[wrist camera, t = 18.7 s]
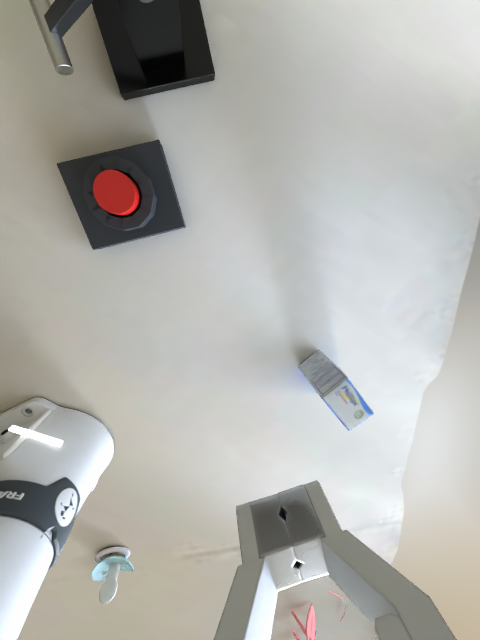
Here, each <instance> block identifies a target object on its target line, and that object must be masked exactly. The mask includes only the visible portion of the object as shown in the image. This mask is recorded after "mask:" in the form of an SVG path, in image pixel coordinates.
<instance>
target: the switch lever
mask: <svg viewBox="0 0 480 640" xmlns="http://www.w3.org/2000/svg"><path fill="white" fill-rule="evenodd" d="M93 1H94V0H55V1H54V3H53V4H52V5H51V6H50V3H49V0H29V2H30V4H31V7H32V9H33V12H34V15H35V17H36V20H37V22H38V25H39V28H40V30H41V33H42V36H43V38H44V41H45V43H46V46H47V49H48V51H49V54H50V56H51V59H52V62H53V64H54V67H55V70H56V71H57V72H58V73H59V74H61V75H70V74H72V73H73V72H74V69H73V67H72V64H71V61H70V58H69V56H68V53H67V50H66V47H65V45H64V42H63V39H62V37H63V36H64V34H65V33H66V32H67V31H68V30H69V29H70V27H71V26H72V25H73V24H74V23H75V22H76V21H77V19H78V18H79V17H80V16H81V15H82V14H83V13H84V11H85V10H86V9H87V8H88V7H89V6H90V4H91V3H92V2H93Z"/></svg>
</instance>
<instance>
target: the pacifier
mask: <svg viewBox="0 0 480 640" xmlns="http://www.w3.org/2000/svg"><path fill="white" fill-rule="evenodd" d="M112 552H121V553H114V554H111V555H109V556H108V557H107V558H105V559H102V558H101V557H102V556H103V555H105V554H108V553H112ZM123 553H124V554H123ZM129 555H130V550H129V549H128V548H126V547H119V546H118V547H110V548H107V549H104V550H102V551H100V552H99V553H98V554H97V555H96V557H95V561H96V562H97V563H98V564H97V565H96V566H95V568H94V570H93V573H92V579H93V580H95V581H99V580H102V579H104V578H106V579H105V581H104V582H103V584H102V585H101V588H100V591H99V600H100V602H101V603H102V604H106V603H109V602H110V601H111V600H112V599H113V597H114V596H115V594H116V591H117V577H118V573H119V570H123V571H128V572H133V570H134V568H133V566H132V564H131V563H130V562H129V561H128V560H127V558H128V557H129ZM127 565H128V566H127ZM104 570H106V572H105V573H102V572H103V571H104Z"/></svg>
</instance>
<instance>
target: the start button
mask: <svg viewBox="0 0 480 640" xmlns="http://www.w3.org/2000/svg"><path fill="white" fill-rule="evenodd" d="M93 193H94V196H95V199H96V201H97V202H98V204H99V205H100V206H101V207H102V208H103V209H104V210H106V211H108V212H110V213H113V214H117V215H128V214H130V213H132V212H134V211H135V210H136V208H137V207H138V204H139V200H140V196H139V191H138V188H137V186H136V185H135V183H134V182H133V181H132V180H131V179H130V178H129V177H127V176H126V175H125V174H123V173H122V172H119V171H117V170H105V171H103V172H101V173H100V174H99V175H98V176H97V177H96V178H95V180H94V184H93Z"/></svg>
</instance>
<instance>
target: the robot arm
mask: <svg viewBox="0 0 480 640" xmlns="http://www.w3.org/2000/svg"><path fill="white" fill-rule="evenodd" d="M30 409H31V410H30ZM113 453H114V444H113V440H112V437H111V435H110V433H109V431H108V430H107V429H106V427H105V426H104V425H103V424H102V423H101V422H99V421H98V420H97V419H95V418H94V417H92V416H90V415H88V414H86V413H83V412H81V411H77V410H73V409H68V408H63V407H60V406H57V405H56V404H54V403H52V402H50V401H48V400H46V399H44V398H40V397H35V398H32V399H30V400H28V401H26V402H24V403H22V404H20V405H17V406H15V407H13V408H11V409H9V410H7V411H5V412H3V413H1V414H0V640H17V638H18V636H19V633H20V631H21V629H22V626H23V624H24V622H25V620H26V617H27V615H28V613H29V610H30V608H31V606H32V604H33V601H34V599H35V597H36V595H37V593H38V590H39V588H40V586H41V584H42V582H43V579H44V577H45V575H46V573H47V571H48V570H49V569H50V568H51V567H52V566H53V565H54V564H55V562H56V560H57V558H58V556H59V554H60V552H61V551H62V549H63V547H64V544H65V542H66V540H67V537H68V535H69V533H70V531H71V529H72V526H73V523H74V520H75V517H76V515H77V513H78V512H79V510H80V508H81V506H82V505H83V503H84V501H85V500H86V498H87V496H88V494H89V493H90V492H92V491H93V489H94V488H95V486H96V484H97V482H98V478H99V476H100V475H101V474H102V472H103V471H104V469H105V468H106V467H107V466H108V464H109V463H110V461H111V459H112V456H113ZM236 515H237V524H238V532H239V540H240V549H241V557H242V565H239V566H238V567H237V570H236V573H235V576H234V580H233V583H232V586H231V589H230V592H229V595H228V598H227V601H226V604H225V607H224V610H223V613H222V616H221V619H220V622H219V625H218V628H217V631H216V634H215V637H214V640H270V638H271V632H272V626H273V619H274V613H275V607H276V601H277V595H278V594H277V592H278V591H280V590H283V589H286V588H288V587H291V586H294V585H296V584H299V583H301V582H304V581H308V580H311V579H314V578H318V577H321V576H324V575H329V577H330V578H331V579H332V580H333V581H334V582H335V584H336V585H337V586H338V587H339V588H340V589H341V590H342V591H343V592H344V593H345V595H346V596H347V597H348V598H349V599H350V600H351V601H352V602H353V603H354V605H355V606H356V607H357V608H358V609H359V610H360V611H361V612H362V613H363V615H364V616H365V617H366V618H367V619H368V620H369V621H370V622H371V623H372V625H373V626H374V629H375V636H376V637H375V638H376V640H457V639H456V638H455V636H454V635H453V633H452V632H451V630H450V628H449V627H448V625H447V624H446V622H445V620H444V619H443V617H442V616H441V614H440V612H439V611H438V609H437V608H436V606H435V605H434V603H433V601H432V600H431V598H430V597H429V596H428V595H426V594H425V593H424V592H423V591H422V590H420V589H419V588H418V587H417V586H416V585H414V584H413V583H412V582H410V581H409V580H408V579H407V578H406V577H404V576H403V575H402V574H401V573H399V572H398V571H397V570H396V569H394V568H393V567H392V566H391V565H390V564H388V563H387V562H386V561H385V560H383V559H382V558H381V557H380V556H378V555H377V554H376V553H375V552H373V551H372V550H371V549H370V548H368V547H367V546H366V545H365V544H364V543H362V542H361V541H360V540H359V539H357V538H356V537H355V536H354V535H352V534H351V533H350V532H349V531H347V530H344V531H342V530H341V527H340V525H339V523H338V521H337V519H336V517H335V515H334V513H333V511H332V508H331V506H330V504H329V502H328V500H327V498H326V496H325V494H324V492H323V489H322V487H321V485H320V483H319V482H318V481H317V480H316V481H313V482H310V483H307V484H305V485H300V486H297V487H294V488H291V489H288V490H285V491H282V492H279V493H277V494H275V495H271V496H268V497H265V498H262V499H258V500H255V501H252V502H248V503H245V504H242V505H239V506H236ZM301 578H302V579H301Z"/></svg>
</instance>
